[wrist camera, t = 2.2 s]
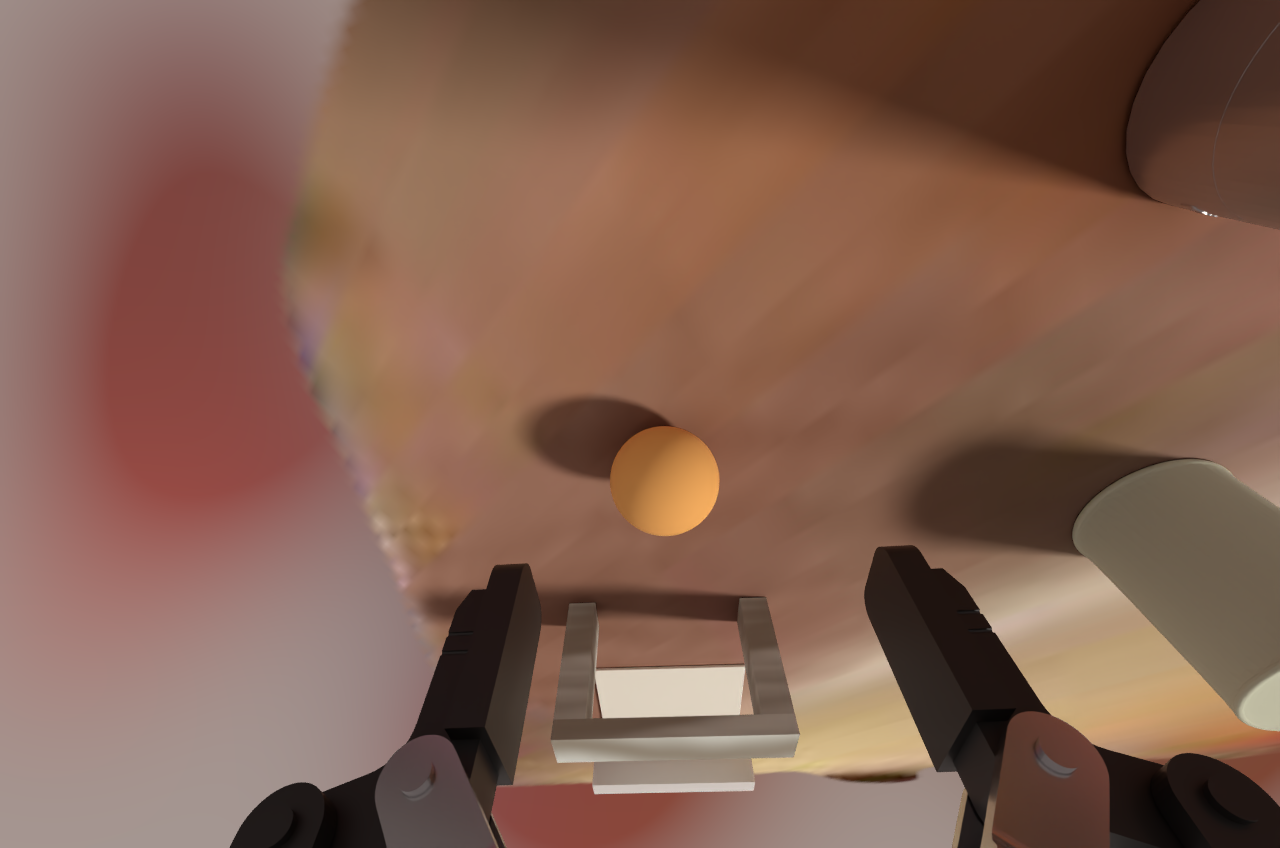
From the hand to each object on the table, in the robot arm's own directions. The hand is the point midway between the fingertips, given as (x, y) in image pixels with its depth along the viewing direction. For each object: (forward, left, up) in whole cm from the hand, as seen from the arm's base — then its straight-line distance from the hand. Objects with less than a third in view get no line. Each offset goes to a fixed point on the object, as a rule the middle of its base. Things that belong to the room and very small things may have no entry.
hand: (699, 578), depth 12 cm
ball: (+8, 0, -14) cm, 16 cm away
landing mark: (+38, 0, -17) cm, 42 cm away
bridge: (+24, 0, -17) cm, 29 cm away
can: (+15, +32, -17) cm, 39 cm away
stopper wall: (+48, 0, -17) cm, 51 cm away
